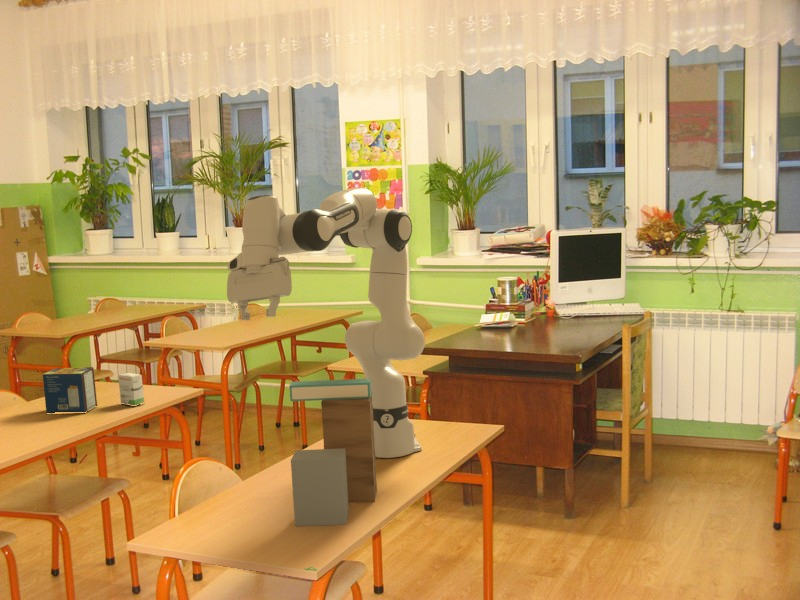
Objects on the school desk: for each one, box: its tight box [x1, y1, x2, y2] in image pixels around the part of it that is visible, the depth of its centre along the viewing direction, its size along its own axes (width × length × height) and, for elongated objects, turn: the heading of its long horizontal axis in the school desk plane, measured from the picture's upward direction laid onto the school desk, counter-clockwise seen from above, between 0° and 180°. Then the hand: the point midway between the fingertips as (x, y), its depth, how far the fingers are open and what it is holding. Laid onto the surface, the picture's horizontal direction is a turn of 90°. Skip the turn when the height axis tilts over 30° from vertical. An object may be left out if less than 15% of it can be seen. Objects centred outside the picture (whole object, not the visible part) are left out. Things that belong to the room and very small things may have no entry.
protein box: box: [42, 366, 98, 413], centre depth 331 cm, size 10×15×16 cm
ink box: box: [117, 372, 145, 405], centre depth 337 cm, size 9×5×12 cm, turn 54°
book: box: [289, 378, 371, 402], centre depth 224 cm, size 5×20×4 cm, turn 88°
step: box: [290, 448, 350, 527], centre depth 211 cm, size 8×12×16 cm, turn 88°
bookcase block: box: [320, 392, 378, 504], centre depth 225 cm, size 9×12×26 cm
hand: (257, 318), depth 210 cm, fingers open, 8 cm apart
